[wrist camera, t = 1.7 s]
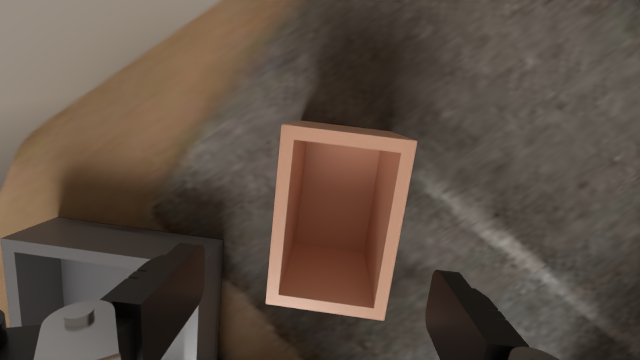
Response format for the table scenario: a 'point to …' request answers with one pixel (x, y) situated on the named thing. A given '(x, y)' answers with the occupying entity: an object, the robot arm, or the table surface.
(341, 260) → the box
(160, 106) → the table surface
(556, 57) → the table surface
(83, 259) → the big crate
